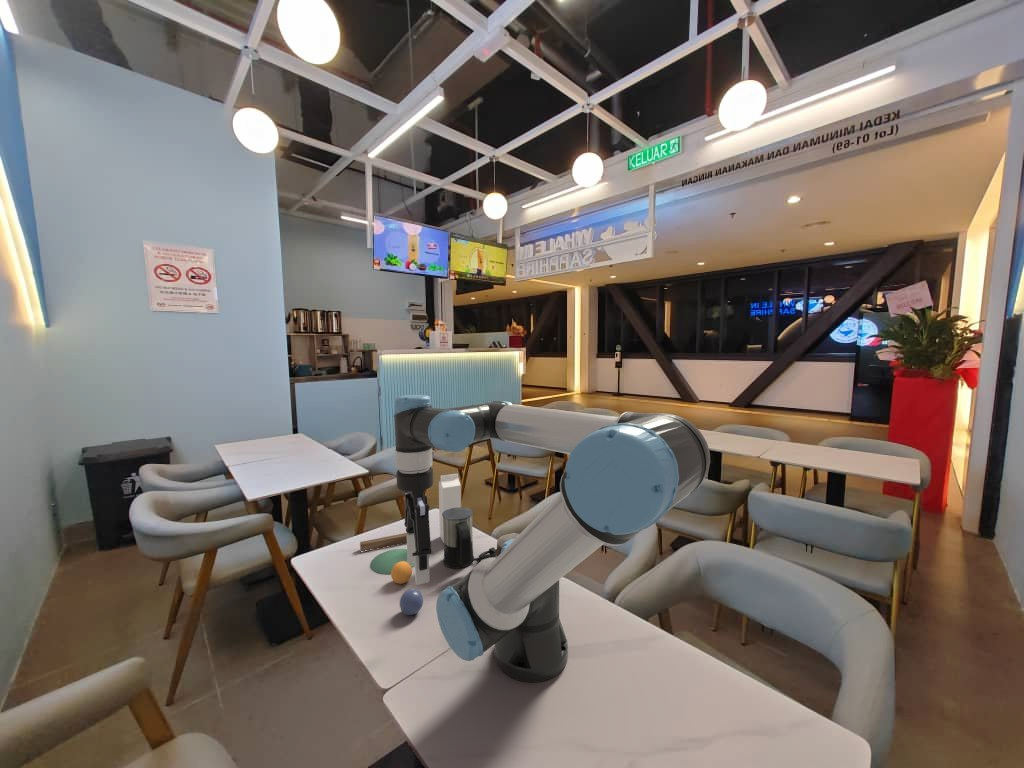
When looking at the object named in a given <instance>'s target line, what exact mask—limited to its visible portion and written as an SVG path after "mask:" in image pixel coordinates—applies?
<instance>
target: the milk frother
mask: <svg viewBox="0 0 1024 768" xmlns="http://www.w3.org/2000/svg"><path fill="white" fill-rule="evenodd" d="M473 514H474V511H473V510H472V509H471V508H468V507H464V506H463V507H462V506H461V507H457V508H450V509H447V510H445V511H444V512H443V513H442V516H443V533H444V543H443V559H442V560H443V561H442V563H443V564H444V566H446V567H448V568H452V569H461V568H466V567H469V566H470V565H471V564H473V563H474V562H476V561H482V560H484V559H487V558H492V557H494V558H496V557H497V548H495V547H494V546H493V547H490V548H489V549H488V550H487V551H486V550H485V551H483V552H481V553H480V554H479V555H478V557H476V558H475V556H474V544H473V543H474V541H473Z"/></svg>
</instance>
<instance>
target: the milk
mask: <svg viewBox="0 0 1024 768" xmlns="http://www.w3.org/2000/svg"><path fill="white" fill-rule="evenodd" d="M459 479H460V478H459V474H458V473H451V474H444V475H443V474H442V475H440V480H439V481H438V509H439V512H438V513H439V514H438V515H439V538H440V539H441V541H442V543H443V544H444V533H443V516H442V513H443V512H444V511H445V510H447V509H450V508H457V507H462V491H461V490H462V486H461V483H460V480H459Z"/></svg>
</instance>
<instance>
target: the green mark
mask: <svg viewBox="0 0 1024 768" xmlns="http://www.w3.org/2000/svg"><path fill="white" fill-rule="evenodd" d="M401 561H404V562H407V563H408V561H407V548H397V549H396V548H395V549H391V550H386V551H383V552H382V553H380V554H378V555H376V556H375V557H374V558H373V559H372V560H371V562H370V569H371V570H372V571H373V572H374V573H377V574H381V575H391V571H392V568H393V566H394V565H395V564H396V563H398V562H401ZM409 564H410V566H411V568H412V569H413V567H414V568H415V562H414V563H409Z"/></svg>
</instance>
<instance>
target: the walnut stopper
mask: <svg viewBox="0 0 1024 768" xmlns="http://www.w3.org/2000/svg"><path fill="white" fill-rule="evenodd" d="M407 534H409V533H407V532H404V533H399V534H394V535H393V534H392V535H388V536H384V537H379V538H373V539H368V540H363V541H359V546H360V547H359V549H360V550H361V551H365V550H370V549H375V550H378V549H377V548H380V549H383V547H385V548H388V547H387V546H389V547H394V546H398V545H397V544H399V545H402V544H401V543H404V544H407ZM393 545H394V546H393ZM361 551H360V552H361ZM370 551H371V550H370ZM365 552H366V551H365Z"/></svg>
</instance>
